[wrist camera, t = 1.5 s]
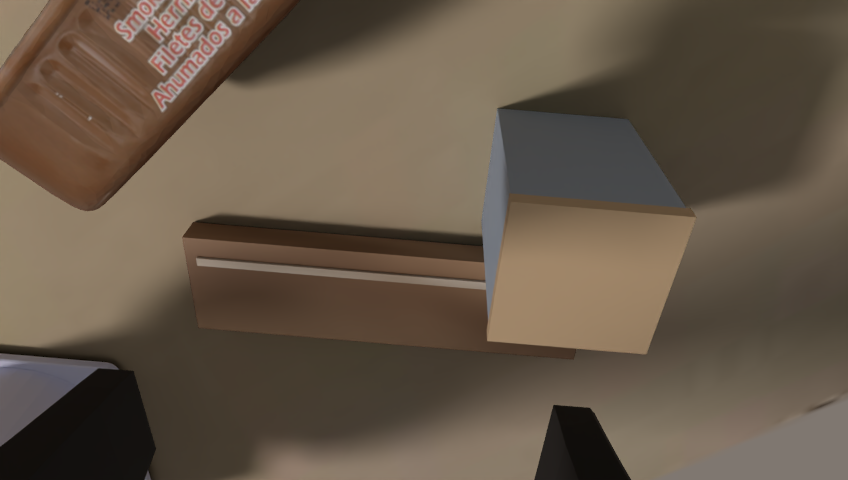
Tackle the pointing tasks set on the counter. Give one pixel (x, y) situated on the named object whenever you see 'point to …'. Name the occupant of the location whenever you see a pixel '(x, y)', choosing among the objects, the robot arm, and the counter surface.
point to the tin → (117, 84)
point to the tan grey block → (578, 233)
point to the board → (343, 288)
